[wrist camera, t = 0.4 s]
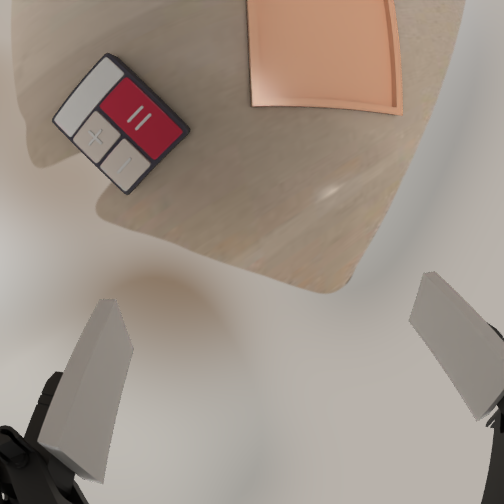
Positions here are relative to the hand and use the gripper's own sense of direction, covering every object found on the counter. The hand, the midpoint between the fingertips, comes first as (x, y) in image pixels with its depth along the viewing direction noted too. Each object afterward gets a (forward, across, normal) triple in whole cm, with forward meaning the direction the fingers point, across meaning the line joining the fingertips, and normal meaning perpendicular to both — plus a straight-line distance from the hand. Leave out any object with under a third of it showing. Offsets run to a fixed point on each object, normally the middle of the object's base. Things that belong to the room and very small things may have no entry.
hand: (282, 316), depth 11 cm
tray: (+27, +11, +19) cm, 35 cm away
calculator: (+28, -15, +9) cm, 33 cm away
